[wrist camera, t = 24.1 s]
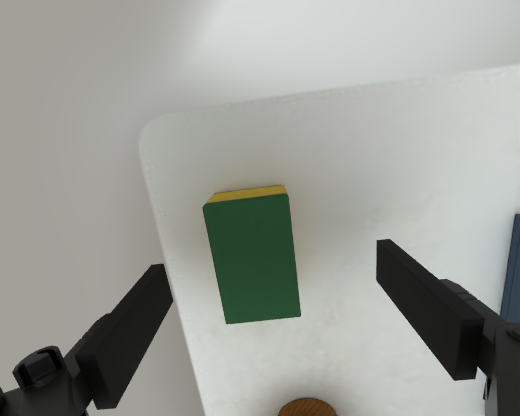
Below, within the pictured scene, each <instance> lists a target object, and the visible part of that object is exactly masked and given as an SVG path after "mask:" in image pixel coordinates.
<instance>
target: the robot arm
mask: <svg viewBox="0 0 520 416" xmlns="http://www.w3.org/2000/svg"><path fill="white" fill-rule="evenodd" d="M376 280H377V282H378V283H379V284H380V286H381V287H382V288H383V290H384V291H385V292H386V293H387V295H388V296H389V297H390V299H391V300H392V301H393V302H394V304H395V305H396V306H397V308H398V309H399V310H400V311H401V313H402V314H403V315H404V317H405V318H406V319H407V320H408V322H409V323H410V324H411V326H412V327H413V328H414V329H415V331H416V332H417V333H418V335H419V336H420V337H421V338H422V340H423V341H424V342H425V344H426V345H427V346H428V348H429V349H430V350H431V351H432V353H433V354H434V355H435V357H436V358H437V359H438V360H439V362H440V363H441V364H442V366H443V367H444V368H445V369H446V371H447V372H448V373H449V375H450V376H451V377H452V378H453V380H454V381H457V380H469V379H475V378H476V372H477V366H478V367H479V368H480V369H481V370H482V371H483V373H484V374H485V375H486V376H487V378H486V383H485V389H484V395H483V399H484V400H485V416H520V323H515V322H507V321H506V320H504V319H503V318H502V317H501V316H499V315H498V314H497V313H495V312H494V311H493V310H491V309H490V308H489V307H487V306H486V305H485V304H484V303H482V302H481V301H480V300H477V298H476V297H474V296H473V295H472V294H469V292H468V291H467V290H465V289H464V288H463V287H461V286H460V285H459V284H456V283H454V282H452V281H450V280H448V279H441V280H439V279H438V278H436V277H435V276H434V275H433V274H432V273H430V272H429V271H428V270H427V269H425V268H424V267H423V266H422V265H421V264H419V263H418V262H417V261H416V260H415V259H413V258H412V257H411V256H410V255H409V254H407V253H406V252H405V251H404V250H402V249H401V248H400V247H399V246H398V245H396V244H395V243H394V242H393V241H392V240H390V239H385V240H377V267H376ZM172 302H173V298H172V294H171V290H170V286H169V282H168V279H167V275H166V271H165V267H164V264H156V265H151V266H150V267H149V269H148V270H147V271H146V272H145V273H144V274H143V276H142V277H141V278H140V279H139V280H138V281H137V283H136V284H135V285H134V286H133V288H132V289H131V290H130V291H129V292H128V293H127V294H126V295H125V297H124V298H123V299H122V300H121V301H120V302H119V304H118V305H117V306H116V307H115V309H114V310H113V311H112V312H111V313H109V314H105V315H104V316H103V317H101V318H100V319H99V320H97V321H96V322H95V323H94V324H93V325H92V326H91V328H90V329H89V331H88V332H86V333H85V334H84V335H83V337H82V339H80V340H79V341H78V342H77V343H76V344H75V346H74V347H73V348H72V349H71V350H70V351H69V352H68V353H67V354H66V356H65V357H64V358H63V357H62V355H61V352H60V350H59V348H58V347H56V346H48V347H45V348H42V349H39V350H37V351H35V352H33V353H32V354H30V355H28V356H27V357H26V358H24V359H23V360H22V361H21V362H20V363H19V364H18V365H17V366H16V367H15V368H14V370H13V375H14V377H15V379H16V381H17V383H18V385H19V386H20V388H17V389H14V390H11V391H8V392H5V393H3V391H2V389H1V388H0V416H89V415H88V413H87V410H86V408H87V406H88V405H89V404H90V402H91V400H92V399H93V401H94V403H95V406H96V408H97V410H100V409H112V408H116V407H117V405H118V403H119V401H120V399H121V397H122V396H123V394H124V392H125V390H126V388H127V386H128V384H129V383H130V381H131V379H132V377H133V375H134V373H135V371H136V369H137V368H138V366H139V364H140V362H141V360H142V358H143V356H144V355H145V353H146V351H147V349H148V347H149V345H150V343H151V342H152V340H153V338H154V336H155V334H156V332H157V330H158V329H159V327H160V325H161V323H162V321H163V319H164V317H165V316H166V314H167V312H168V310H169V308H170V306H171V304H172Z"/></svg>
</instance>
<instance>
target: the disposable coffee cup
mask: <svg viewBox="0 0 520 416" xmlns="http://www.w3.org/2000/svg"><path fill="white" fill-rule="evenodd" d="M278 416H337V415H336V412H335V411H334V409H333V408H332V407H331V406H330V405H328V404H327V403H325V402H323V401H320V400H317V399H299V400H296V401H293V402H291V403H289V404H287V405H286V406H285V407H284V408H283V409H282V410H281V411H280V413H279V414H278Z"/></svg>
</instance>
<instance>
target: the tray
mask: <svg viewBox="0 0 520 416" xmlns="http://www.w3.org/2000/svg"><path fill="white" fill-rule="evenodd" d="M501 317H502V318H503V319H504V320H506V321H507V322H515V323H520V214H516V217H515V223H514V230H513V237H512V243H511V250H510V257H509V263H508V270H507V277H506V283H505V290H504V297H503V303H502V310H501Z"/></svg>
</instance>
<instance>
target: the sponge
mask: <svg viewBox="0 0 520 416" xmlns="http://www.w3.org/2000/svg"><path fill="white" fill-rule="evenodd" d="M203 213H204V218H205V223H206V228H207V233H208V237H209V242H210V247H211V252H212V257H213V262H214V267H215V272H216V277H217V282H218V287H219V291H220V296H221V301H222V306H223V311H224V316H225V321H226V324H235V323H244V322H254V321H263V320H273V319H282V318H292V317H300V316H301V310H300V301H299V291H298V282H297V272H296V263H295V254H294V244H293V235H292V225H291V216H290V206H289V197H288V195H287V192H286V190H285V188H284V186H283V185H277V186H269V187H262V188H254V189H246V190H239V191H231V192H223V193H216V194H214V195H213V196H212V197H211V198H210V199H209V200H208V201H207V203H206V204H205V205H204V206H203Z"/></svg>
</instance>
